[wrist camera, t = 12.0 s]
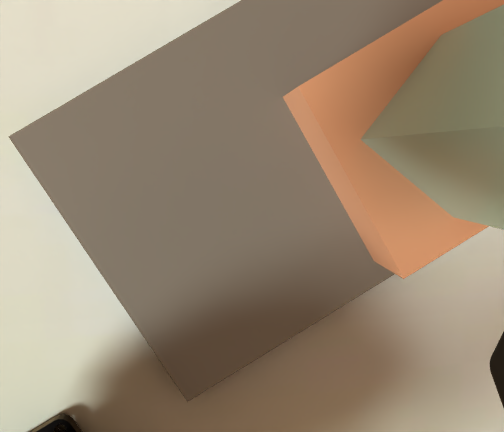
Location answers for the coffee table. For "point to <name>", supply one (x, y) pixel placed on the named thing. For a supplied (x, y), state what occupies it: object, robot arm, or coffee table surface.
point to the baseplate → (248, 175)
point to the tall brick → (452, 122)
